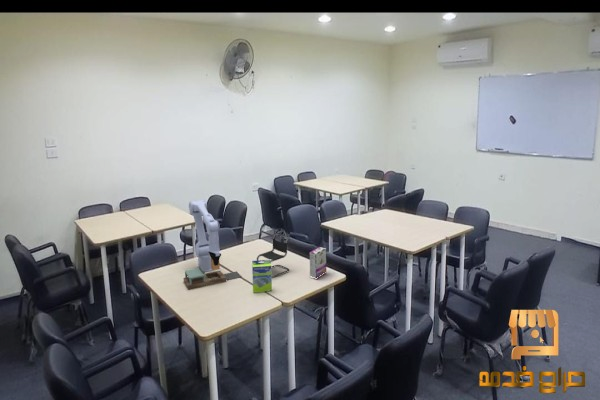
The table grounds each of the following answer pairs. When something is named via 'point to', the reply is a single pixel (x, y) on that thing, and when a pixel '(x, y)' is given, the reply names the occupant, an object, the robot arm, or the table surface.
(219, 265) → the terracotta block
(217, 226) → the robot arm
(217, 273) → the brown flat rectangular frame
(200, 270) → the sliding cover
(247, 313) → the table surface
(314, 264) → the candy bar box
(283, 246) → the chair
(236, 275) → the rubber mat
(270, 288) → the box
